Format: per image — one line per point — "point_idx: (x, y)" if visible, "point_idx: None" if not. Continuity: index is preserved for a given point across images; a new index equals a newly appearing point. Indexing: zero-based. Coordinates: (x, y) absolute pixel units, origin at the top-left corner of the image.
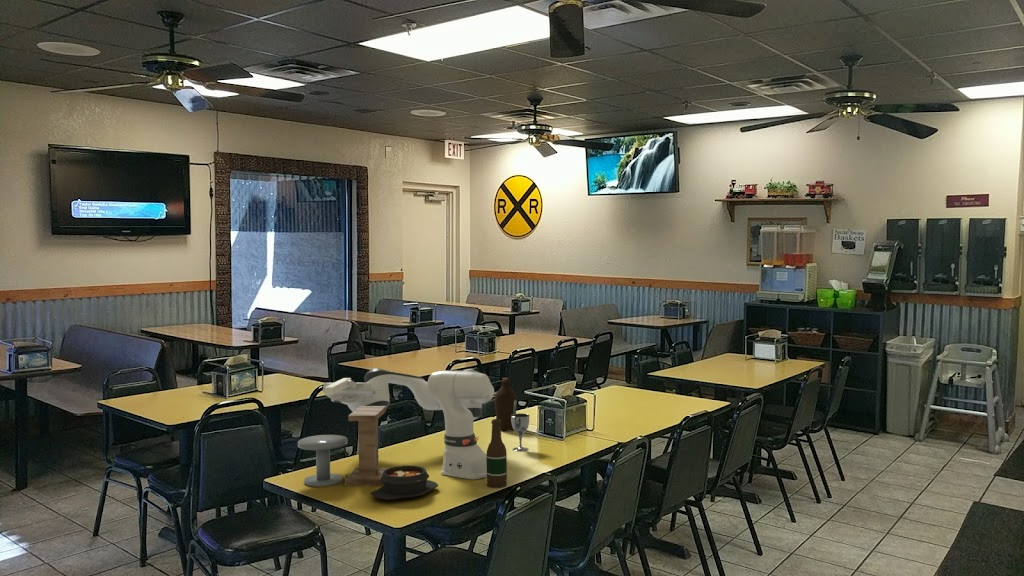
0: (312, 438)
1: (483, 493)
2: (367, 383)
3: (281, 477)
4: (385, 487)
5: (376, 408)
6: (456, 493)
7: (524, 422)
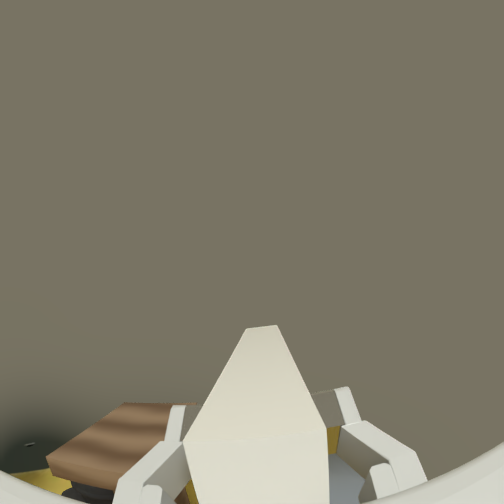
0: (350, 489)
1: (21, 475)
2: (2, 472)
3: None
4: None
5: (95, 442)
6: (49, 485)
7: None
